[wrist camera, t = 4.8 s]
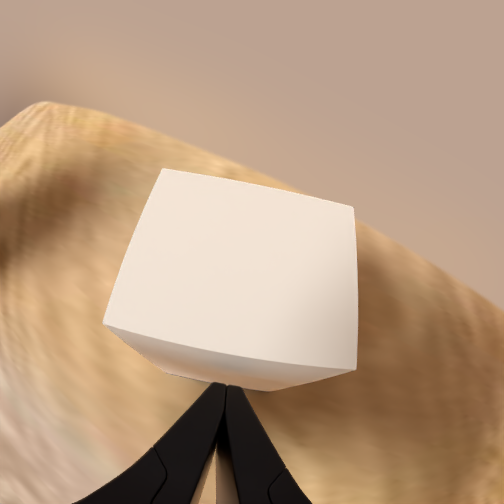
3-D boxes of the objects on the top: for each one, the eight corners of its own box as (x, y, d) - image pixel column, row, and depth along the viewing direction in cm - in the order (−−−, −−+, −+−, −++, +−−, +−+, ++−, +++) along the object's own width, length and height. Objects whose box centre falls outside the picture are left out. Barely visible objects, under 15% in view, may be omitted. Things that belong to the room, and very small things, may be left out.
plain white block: (268, 391, 14) (356, 369, 6) (166, 373, 14) (102, 323, 5) (278, 314, 17) (353, 207, 8) (183, 296, 16) (162, 168, 8)
